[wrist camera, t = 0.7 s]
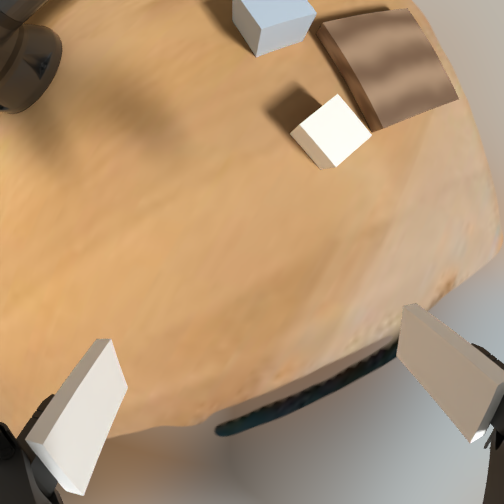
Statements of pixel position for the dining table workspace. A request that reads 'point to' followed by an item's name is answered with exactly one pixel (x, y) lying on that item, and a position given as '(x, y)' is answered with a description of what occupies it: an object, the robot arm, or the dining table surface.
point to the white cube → (331, 133)
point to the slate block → (272, 22)
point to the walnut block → (387, 65)
